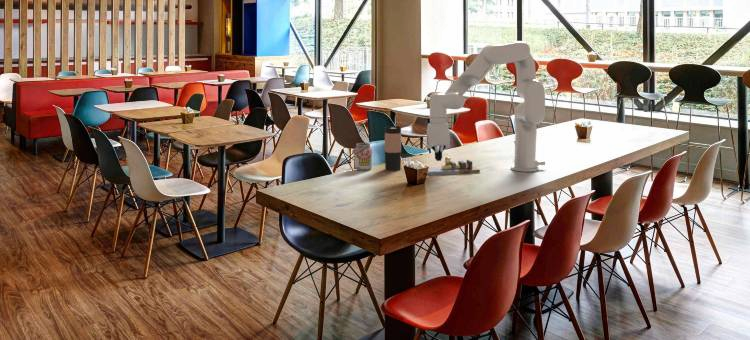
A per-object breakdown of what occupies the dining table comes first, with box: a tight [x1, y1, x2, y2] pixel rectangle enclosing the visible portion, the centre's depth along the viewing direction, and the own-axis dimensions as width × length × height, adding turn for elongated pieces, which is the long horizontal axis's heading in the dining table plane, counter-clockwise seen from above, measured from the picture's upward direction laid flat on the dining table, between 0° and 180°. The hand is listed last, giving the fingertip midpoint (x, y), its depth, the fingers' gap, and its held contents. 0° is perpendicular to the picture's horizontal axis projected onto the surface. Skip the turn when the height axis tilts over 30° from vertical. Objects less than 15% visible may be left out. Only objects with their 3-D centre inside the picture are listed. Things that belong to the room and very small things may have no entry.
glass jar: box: [351, 142, 373, 171], centre depth 321 cm, size 9×8×12 cm
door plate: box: [427, 160, 460, 176], centre depth 313 cm, size 14×9×5 cm, turn 101°
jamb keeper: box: [457, 159, 481, 175], centre depth 315 cm, size 10×9×5 cm
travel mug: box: [384, 125, 402, 172], centre depth 319 cm, size 8×8×20 cm
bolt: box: [441, 156, 468, 169], centre depth 314 cm, size 12×2×5 cm, turn 101°
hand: (438, 160), depth 312 cm, fingers closed
